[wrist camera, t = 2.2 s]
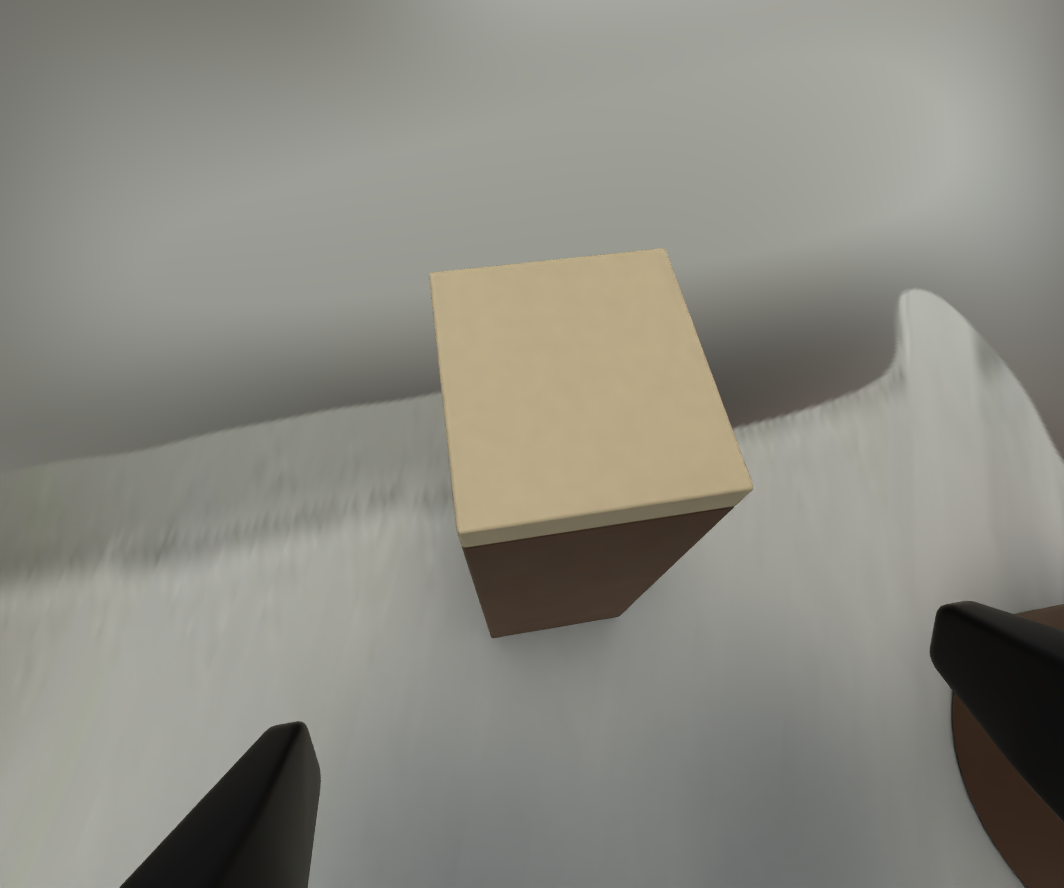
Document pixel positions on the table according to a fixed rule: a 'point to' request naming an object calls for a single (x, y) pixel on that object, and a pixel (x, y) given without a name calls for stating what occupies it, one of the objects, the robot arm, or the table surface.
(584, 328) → the tan and brown block
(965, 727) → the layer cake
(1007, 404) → the table surface
